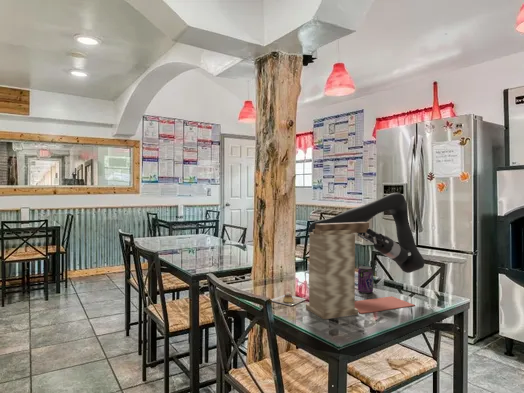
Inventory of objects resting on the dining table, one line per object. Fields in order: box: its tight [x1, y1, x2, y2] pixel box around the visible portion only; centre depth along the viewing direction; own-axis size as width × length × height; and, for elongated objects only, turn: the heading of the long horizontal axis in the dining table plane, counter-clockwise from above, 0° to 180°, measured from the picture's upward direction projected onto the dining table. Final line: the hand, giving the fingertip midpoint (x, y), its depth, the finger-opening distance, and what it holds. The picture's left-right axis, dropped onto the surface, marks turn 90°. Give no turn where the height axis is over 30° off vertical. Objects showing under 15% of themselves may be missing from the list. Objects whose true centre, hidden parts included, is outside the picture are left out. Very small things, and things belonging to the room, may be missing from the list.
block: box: [315, 221, 370, 234], centre depth 151 cm, size 24×4×4 cm, turn 113°
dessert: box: [270, 291, 307, 307], centre depth 164 cm, size 12×12×5 cm
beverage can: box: [357, 265, 374, 294], centre depth 179 cm, size 7×7×12 cm
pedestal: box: [305, 230, 359, 320], centre depth 149 cm, size 16×14×34 cm
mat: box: [355, 295, 416, 315], centre depth 158 cm, size 28×14×1 cm, turn 112°
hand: (361, 229), depth 154 cm, fingers open, 8 cm apart
